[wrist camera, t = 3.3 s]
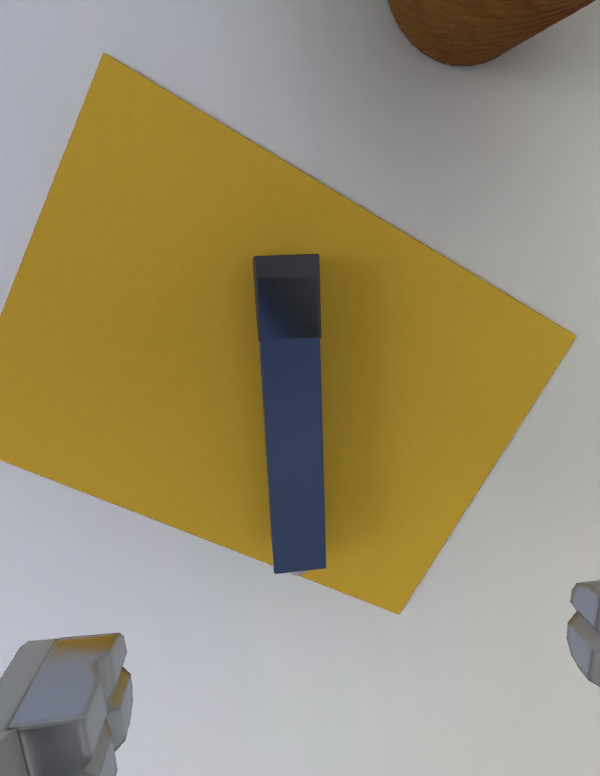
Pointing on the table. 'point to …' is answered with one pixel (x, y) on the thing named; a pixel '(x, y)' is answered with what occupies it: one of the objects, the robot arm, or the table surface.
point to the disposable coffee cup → (476, 25)
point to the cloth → (251, 345)
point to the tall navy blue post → (292, 407)
